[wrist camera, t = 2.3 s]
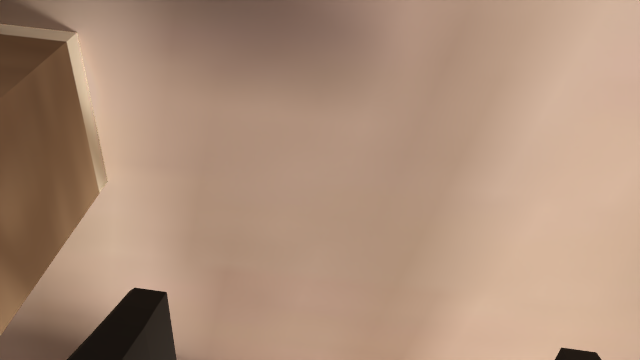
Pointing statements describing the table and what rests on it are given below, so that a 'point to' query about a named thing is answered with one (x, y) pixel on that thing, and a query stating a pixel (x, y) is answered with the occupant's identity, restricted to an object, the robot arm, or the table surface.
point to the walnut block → (42, 155)
